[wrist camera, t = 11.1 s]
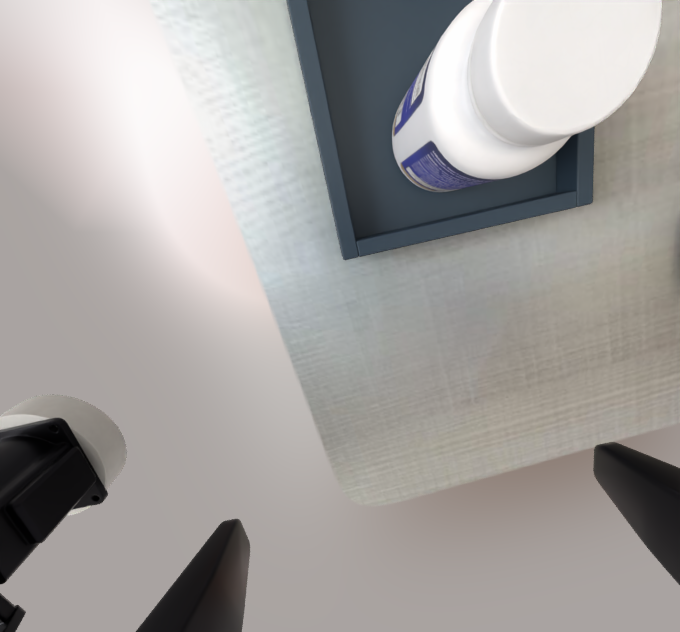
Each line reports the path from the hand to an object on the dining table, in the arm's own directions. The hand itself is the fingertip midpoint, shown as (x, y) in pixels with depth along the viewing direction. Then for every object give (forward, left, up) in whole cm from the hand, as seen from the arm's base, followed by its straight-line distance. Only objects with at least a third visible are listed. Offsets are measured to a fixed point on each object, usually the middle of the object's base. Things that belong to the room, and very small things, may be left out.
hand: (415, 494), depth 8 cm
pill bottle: (+6, +9, -12) cm, 16 cm away
